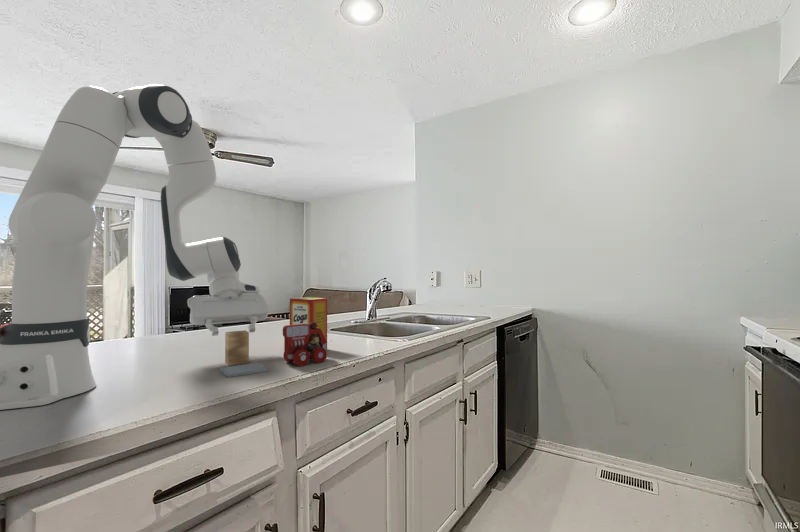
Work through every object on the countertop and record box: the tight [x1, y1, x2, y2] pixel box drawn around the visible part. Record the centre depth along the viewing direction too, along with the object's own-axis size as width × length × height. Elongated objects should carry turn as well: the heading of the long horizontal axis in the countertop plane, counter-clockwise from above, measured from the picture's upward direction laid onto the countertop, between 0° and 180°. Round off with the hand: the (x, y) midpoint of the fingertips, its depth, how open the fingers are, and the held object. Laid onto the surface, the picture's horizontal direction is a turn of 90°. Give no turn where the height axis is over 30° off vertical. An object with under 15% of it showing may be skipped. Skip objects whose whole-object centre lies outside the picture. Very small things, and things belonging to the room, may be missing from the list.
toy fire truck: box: [282, 322, 328, 367], centre depth 102 cm, size 7×12×10 cm, turn 133°
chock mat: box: [220, 362, 269, 378], centre depth 93 cm, size 9×8×1 cm
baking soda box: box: [289, 296, 328, 345], centre depth 119 cm, size 10×6×16 cm
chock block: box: [224, 330, 250, 366], centre depth 102 cm, size 5×4×8 cm
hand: (234, 332), depth 105 cm, fingers open, 8 cm apart
